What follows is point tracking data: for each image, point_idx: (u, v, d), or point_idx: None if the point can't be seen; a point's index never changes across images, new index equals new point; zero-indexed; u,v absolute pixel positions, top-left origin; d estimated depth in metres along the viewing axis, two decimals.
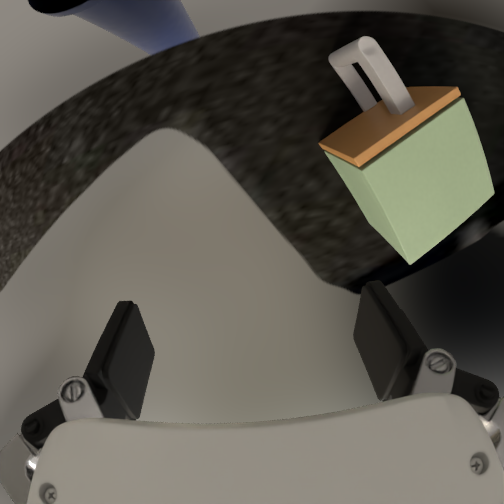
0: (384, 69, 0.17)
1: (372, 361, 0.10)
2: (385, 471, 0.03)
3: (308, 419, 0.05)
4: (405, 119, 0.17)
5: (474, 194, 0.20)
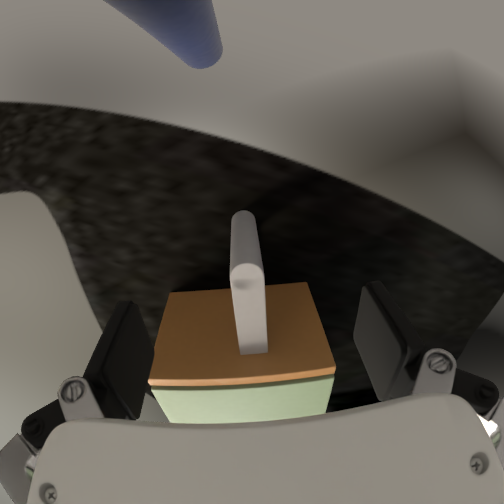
0: (249, 310, 0.16)
1: (372, 361, 0.10)
2: (385, 471, 0.03)
3: (308, 419, 0.05)
4: (231, 372, 0.17)
5: None
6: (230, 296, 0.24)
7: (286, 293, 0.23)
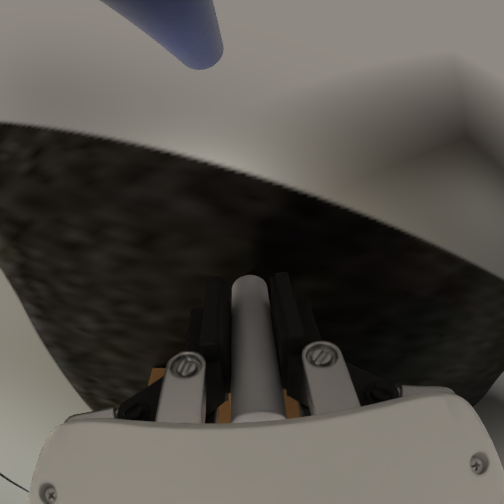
0: None
1: None
2: (385, 471, 0.03)
3: (308, 419, 0.05)
4: None
5: None
6: None
7: None
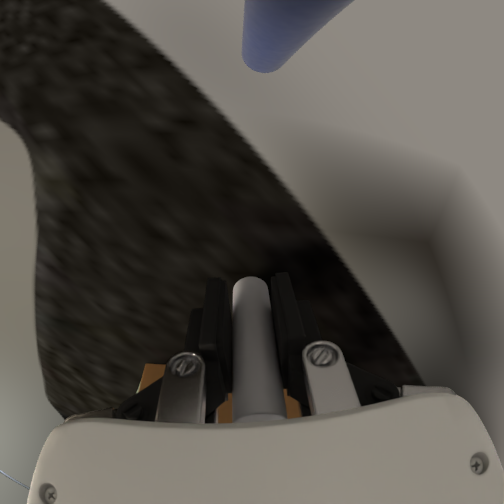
0: None
1: (277, 350, 0.11)
2: (385, 471, 0.03)
3: (308, 419, 0.05)
4: None
5: None
6: None
7: None
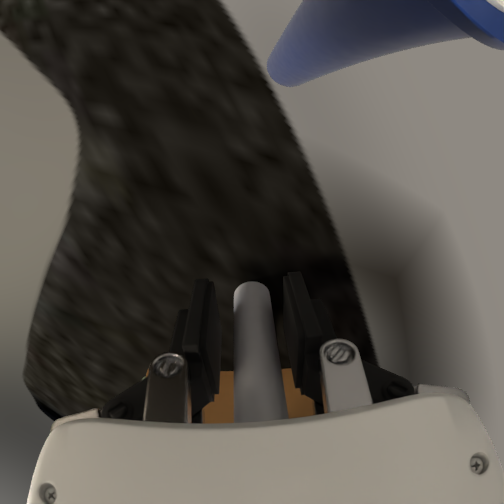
0: None
1: (290, 349, 0.11)
2: (385, 471, 0.03)
3: (308, 419, 0.05)
4: None
5: None
6: (227, 385, 0.16)
7: None
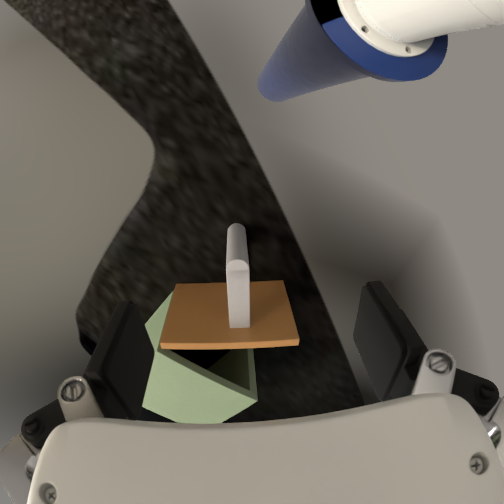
0: (238, 292, 0.23)
1: (372, 361, 0.10)
2: (385, 471, 0.03)
3: (308, 419, 0.05)
4: (223, 339, 0.24)
5: (191, 420, 0.29)
6: (223, 288, 0.31)
7: (267, 288, 0.31)
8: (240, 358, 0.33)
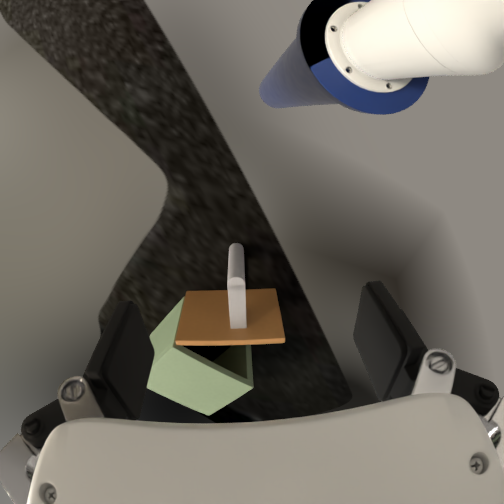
0: (237, 301, 0.30)
1: (372, 361, 0.10)
2: (385, 471, 0.03)
3: (308, 419, 0.05)
4: (225, 337, 0.30)
5: (199, 405, 0.36)
6: (226, 295, 0.37)
7: (261, 295, 0.37)
8: (239, 352, 0.40)
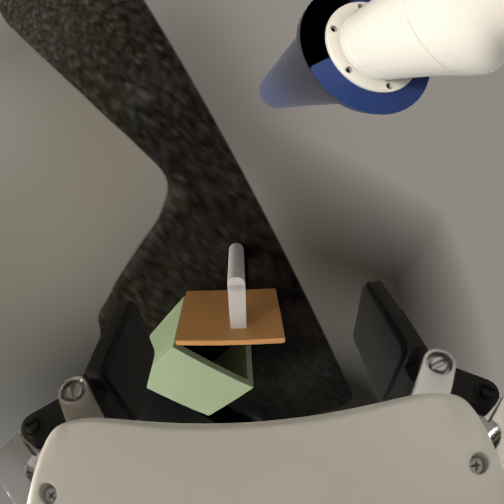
0: (237, 301, 0.30)
1: (372, 361, 0.10)
2: (385, 471, 0.03)
3: (308, 419, 0.05)
4: (225, 337, 0.30)
5: (199, 404, 0.36)
6: (226, 295, 0.37)
7: (261, 295, 0.37)
8: (239, 352, 0.40)
